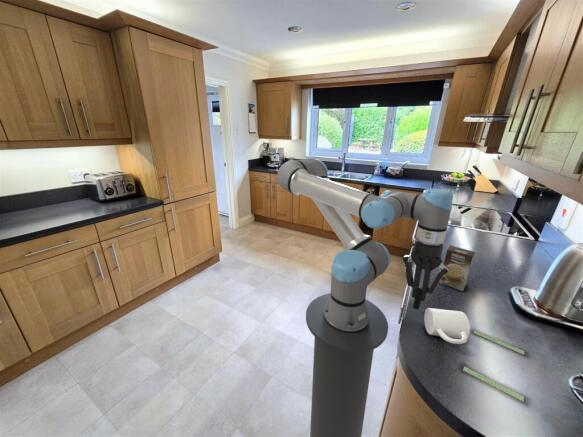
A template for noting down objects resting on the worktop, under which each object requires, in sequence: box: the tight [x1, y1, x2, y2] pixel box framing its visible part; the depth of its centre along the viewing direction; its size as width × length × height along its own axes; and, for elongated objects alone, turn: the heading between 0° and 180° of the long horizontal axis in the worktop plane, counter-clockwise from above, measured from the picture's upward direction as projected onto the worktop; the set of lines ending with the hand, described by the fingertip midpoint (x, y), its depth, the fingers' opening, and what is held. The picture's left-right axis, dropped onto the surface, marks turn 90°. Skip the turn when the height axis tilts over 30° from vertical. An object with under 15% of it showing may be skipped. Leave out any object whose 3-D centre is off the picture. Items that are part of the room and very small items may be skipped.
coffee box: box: [438, 245, 476, 292], centre depth 101 cm, size 9×6×16 cm
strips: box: [462, 329, 525, 402], centre depth 68 cm, size 12×20×1 cm, turn 137°
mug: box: [423, 307, 471, 345], centre depth 74 cm, size 12×10×8 cm
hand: (416, 306), depth 80 cm, fingers closed
